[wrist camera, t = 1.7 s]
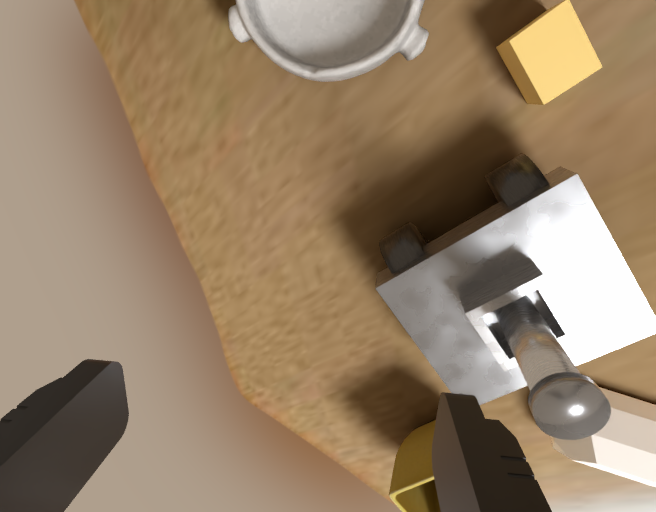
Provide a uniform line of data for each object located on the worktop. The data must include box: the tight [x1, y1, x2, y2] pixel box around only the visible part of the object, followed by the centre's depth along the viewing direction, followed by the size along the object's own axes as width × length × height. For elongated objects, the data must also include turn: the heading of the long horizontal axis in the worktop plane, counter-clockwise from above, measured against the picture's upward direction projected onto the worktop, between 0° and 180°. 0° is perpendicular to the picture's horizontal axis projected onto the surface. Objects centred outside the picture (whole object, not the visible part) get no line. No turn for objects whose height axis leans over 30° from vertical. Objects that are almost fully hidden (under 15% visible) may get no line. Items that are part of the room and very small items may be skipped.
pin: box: [494, 295, 611, 440], centre depth 26 cm, size 4×4×11 cm
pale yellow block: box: [496, 0, 602, 105], centre depth 29 cm, size 4×5×4 cm
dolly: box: [375, 154, 656, 405], centre depth 33 cm, size 16×18×10 cm
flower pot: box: [389, 420, 441, 512], centre depth 41 cm, size 9×9×9 cm
